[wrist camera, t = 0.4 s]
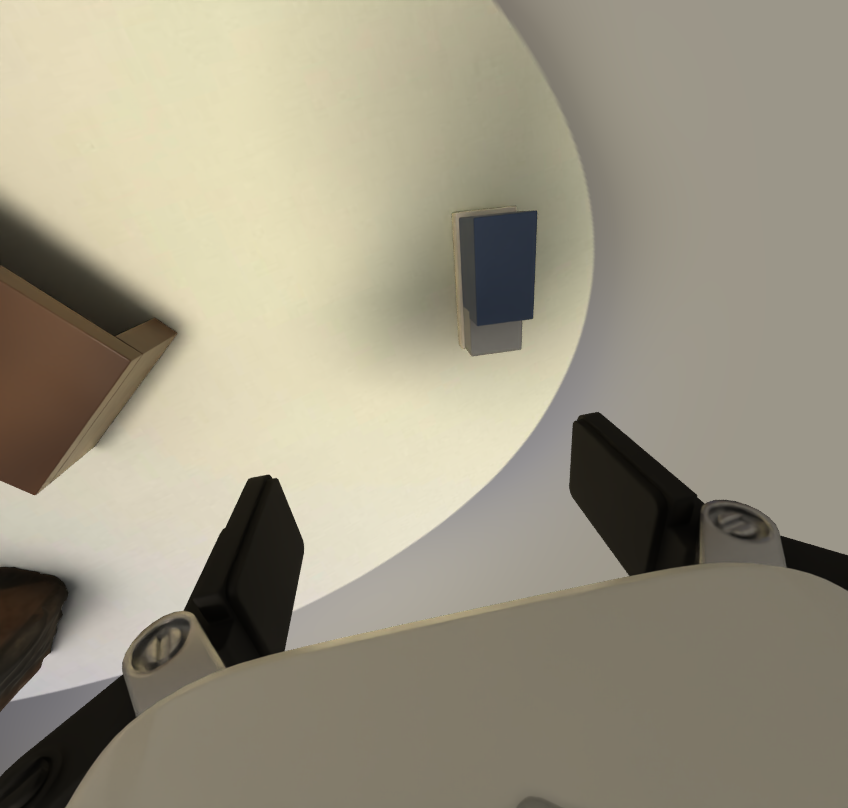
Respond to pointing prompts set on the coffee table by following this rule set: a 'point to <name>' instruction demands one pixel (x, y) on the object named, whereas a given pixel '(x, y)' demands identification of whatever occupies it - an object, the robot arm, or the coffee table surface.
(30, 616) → the owl
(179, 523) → the coffee table surface
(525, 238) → the stacked block assembly
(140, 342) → the low brown table
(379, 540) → the coffee table surface
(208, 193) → the coffee table surface
